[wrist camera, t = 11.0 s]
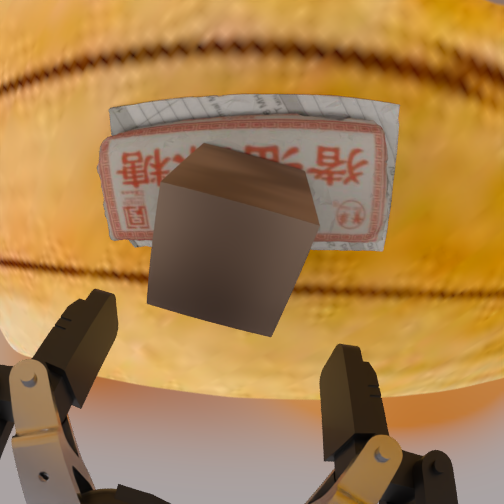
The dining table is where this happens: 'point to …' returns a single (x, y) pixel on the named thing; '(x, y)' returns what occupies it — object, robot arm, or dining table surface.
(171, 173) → the walnut block
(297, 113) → the packaged product
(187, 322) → the dining table surface
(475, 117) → the dining table surface
